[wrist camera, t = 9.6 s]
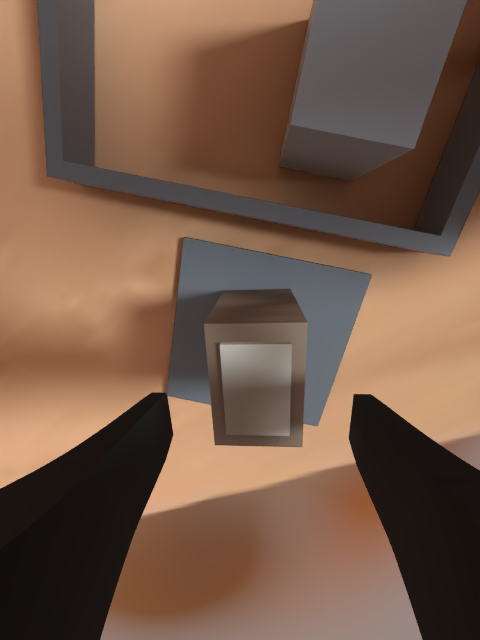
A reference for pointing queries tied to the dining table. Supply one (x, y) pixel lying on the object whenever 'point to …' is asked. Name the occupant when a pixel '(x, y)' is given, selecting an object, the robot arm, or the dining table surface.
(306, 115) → the plain box
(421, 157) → the dining table surface
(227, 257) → the grey mat
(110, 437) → the robot arm
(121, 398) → the dining table surface
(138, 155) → the dining table surface
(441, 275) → the dining table surface
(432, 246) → the dark grey rectangular frame
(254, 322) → the labelled box
